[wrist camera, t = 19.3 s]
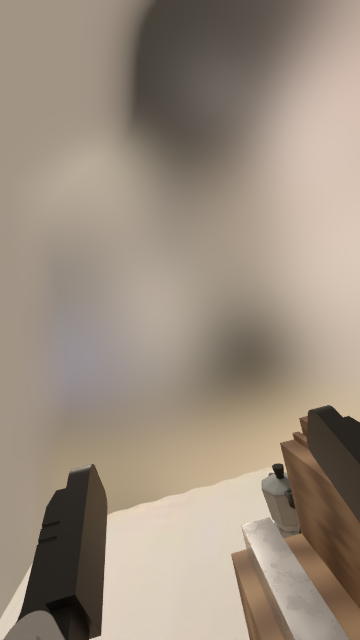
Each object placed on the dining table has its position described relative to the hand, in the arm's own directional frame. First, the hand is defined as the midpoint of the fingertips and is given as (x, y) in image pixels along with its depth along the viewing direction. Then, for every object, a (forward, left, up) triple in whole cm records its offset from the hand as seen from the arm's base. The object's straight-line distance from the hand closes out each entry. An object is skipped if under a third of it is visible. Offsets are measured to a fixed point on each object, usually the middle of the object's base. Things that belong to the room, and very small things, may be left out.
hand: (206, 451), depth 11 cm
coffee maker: (+50, +13, -43) cm, 67 cm away
